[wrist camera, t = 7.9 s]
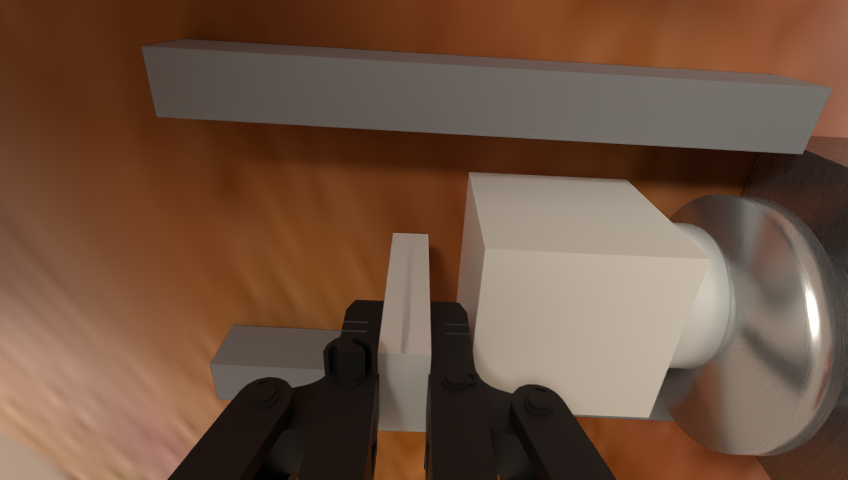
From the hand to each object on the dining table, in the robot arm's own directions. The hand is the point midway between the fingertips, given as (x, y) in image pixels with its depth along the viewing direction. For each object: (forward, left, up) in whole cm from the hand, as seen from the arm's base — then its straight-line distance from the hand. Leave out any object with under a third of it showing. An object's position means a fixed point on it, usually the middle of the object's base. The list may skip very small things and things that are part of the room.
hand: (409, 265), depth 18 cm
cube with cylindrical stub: (0, +5, -2) cm, 5 cm away
